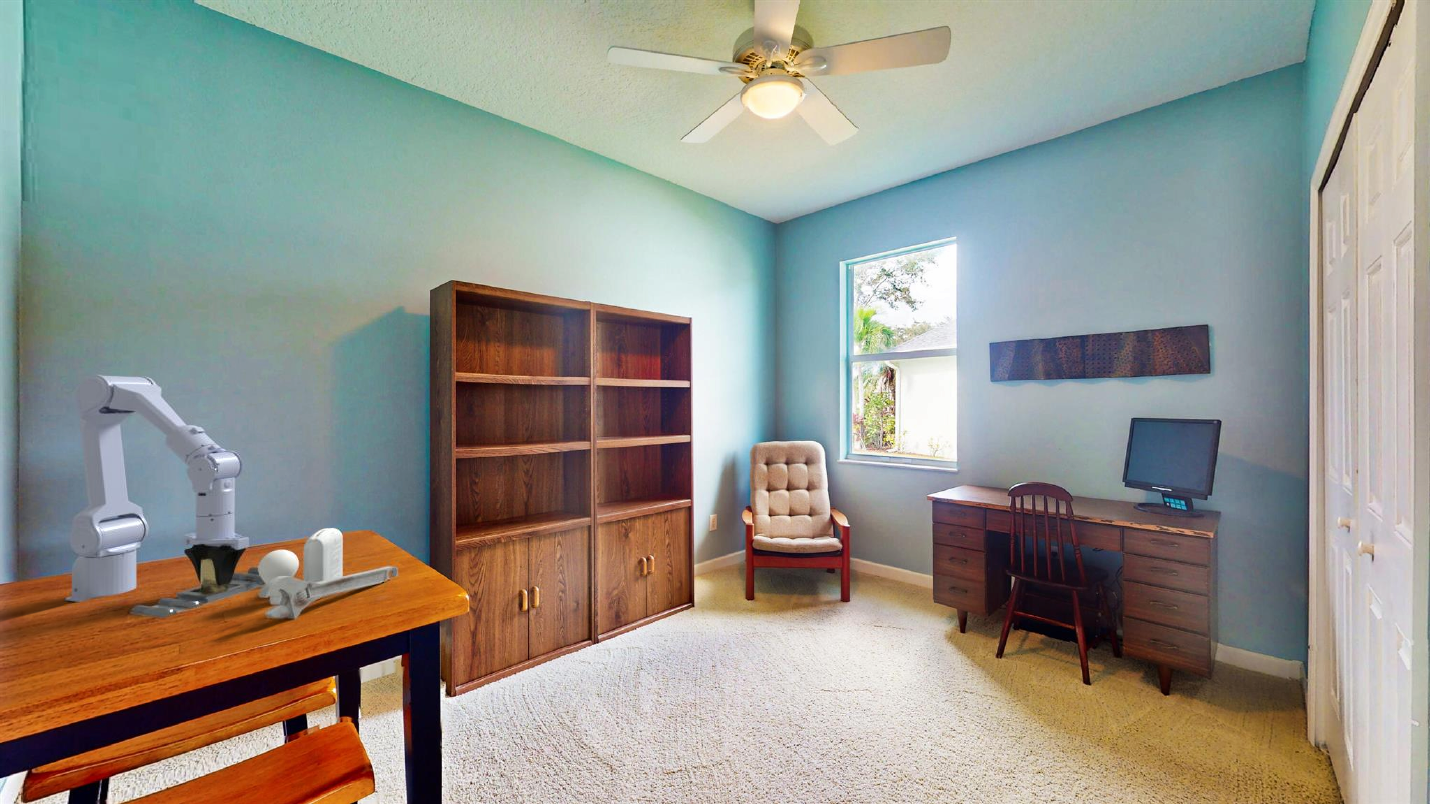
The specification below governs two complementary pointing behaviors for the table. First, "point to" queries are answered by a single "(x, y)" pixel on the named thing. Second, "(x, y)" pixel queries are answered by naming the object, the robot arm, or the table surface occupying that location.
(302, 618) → the table surface
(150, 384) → the robot arm
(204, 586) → the brass pin
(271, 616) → the wrench
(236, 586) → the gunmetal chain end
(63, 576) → the table surface
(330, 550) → the photo printer
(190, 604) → the steel chain end
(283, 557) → the lightbulb
